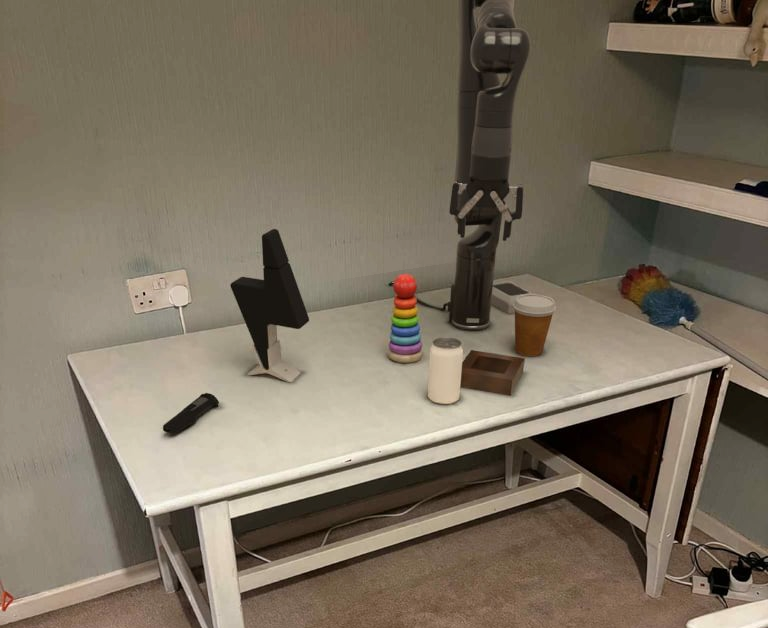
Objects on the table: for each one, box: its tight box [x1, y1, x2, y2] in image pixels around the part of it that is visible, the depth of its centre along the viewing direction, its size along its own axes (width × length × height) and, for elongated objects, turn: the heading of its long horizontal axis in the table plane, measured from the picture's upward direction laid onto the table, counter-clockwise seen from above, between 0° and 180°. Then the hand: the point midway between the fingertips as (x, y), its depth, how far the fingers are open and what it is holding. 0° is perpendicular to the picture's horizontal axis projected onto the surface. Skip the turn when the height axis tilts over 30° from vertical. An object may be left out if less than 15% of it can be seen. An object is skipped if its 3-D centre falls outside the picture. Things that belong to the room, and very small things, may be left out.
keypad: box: [491, 280, 534, 314], centre depth 205 cm, size 10×4×15 cm
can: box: [427, 336, 464, 405], centre depth 155 cm, size 6×6×12 cm
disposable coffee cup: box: [513, 293, 557, 357], centre depth 175 cm, size 10×10×12 cm
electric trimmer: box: [162, 392, 220, 434], centre depth 148 cm, size 4×16×3 cm, turn 158°
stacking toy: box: [387, 273, 424, 364], centre depth 170 cm, size 8×8×19 cm
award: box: [230, 228, 310, 383], centre depth 158 cm, size 15×5×30 cm, turn 71°
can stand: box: [460, 349, 526, 396], centre depth 165 cm, size 12×12×4 cm
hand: (483, 238), depth 156 cm, fingers open, 8 cm apart
